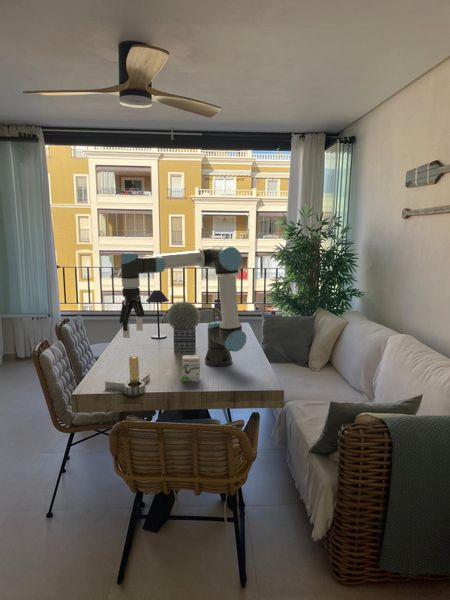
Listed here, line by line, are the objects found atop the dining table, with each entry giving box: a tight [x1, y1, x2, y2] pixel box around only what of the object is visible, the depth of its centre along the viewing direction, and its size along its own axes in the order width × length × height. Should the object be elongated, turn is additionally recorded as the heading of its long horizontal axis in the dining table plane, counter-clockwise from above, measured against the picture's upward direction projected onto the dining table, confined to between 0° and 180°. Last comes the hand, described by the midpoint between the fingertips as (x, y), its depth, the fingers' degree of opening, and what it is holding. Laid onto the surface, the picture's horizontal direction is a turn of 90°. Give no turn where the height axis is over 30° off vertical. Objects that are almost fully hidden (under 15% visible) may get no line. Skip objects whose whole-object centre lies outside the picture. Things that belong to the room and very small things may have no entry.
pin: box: [128, 355, 140, 387], centre depth 175 cm, size 4×4×16 cm
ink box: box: [181, 354, 201, 383], centre depth 190 cm, size 9×5×12 cm, turn 94°
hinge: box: [104, 373, 151, 396], centre depth 182 cm, size 19×19×4 cm
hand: (133, 334), depth 177 cm, fingers open, 13 cm apart
